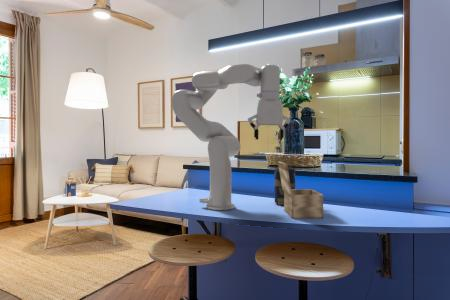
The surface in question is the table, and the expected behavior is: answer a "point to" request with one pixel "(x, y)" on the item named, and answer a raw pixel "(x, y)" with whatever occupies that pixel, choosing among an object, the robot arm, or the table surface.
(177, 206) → the table surface
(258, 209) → the table surface
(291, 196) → the brown wooden box
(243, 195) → the table surface
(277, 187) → the canister
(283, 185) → the lid
